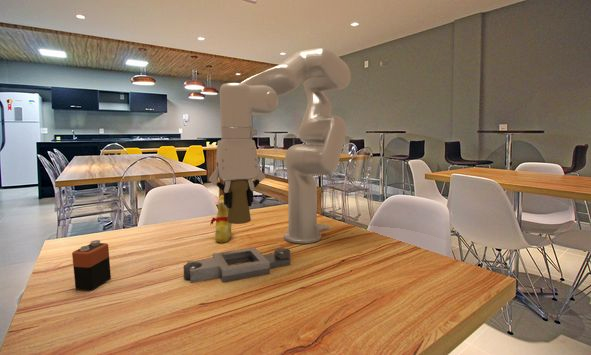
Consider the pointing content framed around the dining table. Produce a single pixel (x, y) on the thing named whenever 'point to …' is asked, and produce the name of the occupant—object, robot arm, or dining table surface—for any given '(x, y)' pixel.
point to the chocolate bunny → (222, 222)
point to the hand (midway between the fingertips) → (238, 205)
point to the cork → (239, 203)
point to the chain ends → (220, 262)
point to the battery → (91, 265)
